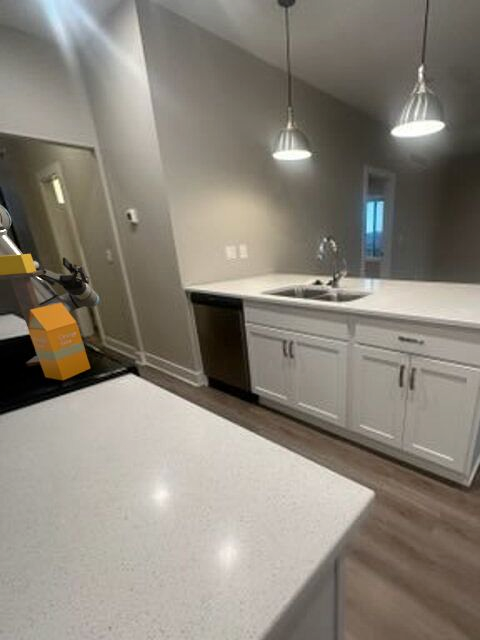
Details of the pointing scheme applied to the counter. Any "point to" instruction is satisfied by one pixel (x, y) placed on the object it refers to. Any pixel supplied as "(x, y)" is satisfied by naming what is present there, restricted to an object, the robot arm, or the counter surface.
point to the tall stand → (25, 298)
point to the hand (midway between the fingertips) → (48, 261)
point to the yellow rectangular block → (17, 264)
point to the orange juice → (57, 342)
